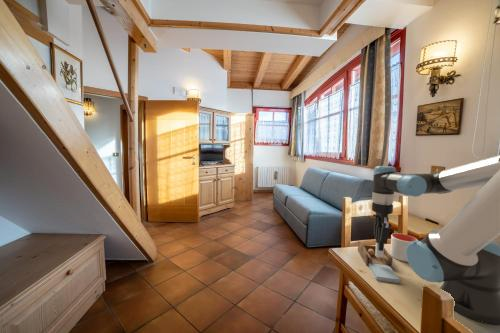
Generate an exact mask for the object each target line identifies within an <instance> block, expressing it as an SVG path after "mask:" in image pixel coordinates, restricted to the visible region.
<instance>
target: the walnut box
mask: <svg viewBox="0 0 500 333" xmlns="http://www.w3.org/2000/svg"><path fill="white" fill-rule="evenodd" d="M375 248H376V245H369V244H362V243H361V241H358V242H357V252H358V254H359V256H360V257H361V258H362V261H363V263H364V265H366V266H368V267H369V263H371V264H380V265H388V266H390V267H391V269H393V258H394V257H393V256H392V255H391V253H389V252H388V251H387V249H386V248H385V247H384V255H383V258H382V257H376V256H375V254H374V255H369V253H368V250H369V249H373V250H374V251H375Z"/></svg>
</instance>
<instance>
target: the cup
mask: <svg viewBox="0 0 500 333" xmlns="http://www.w3.org/2000/svg"><path fill="white" fill-rule="evenodd" d="M413 241H419V240H418V239H417V238H416V237H414V236H412V235H409V234H406V233H405V234H404V233H400V232H398V233H397V232H396V233H392V234H391V235H390V249H389V250H390V251H389V252H390V253H389V254H390V255H391V257H392V258H394V259H395V260H398V261H401V262H405V263H409V262H408V260H407V256H406V247H407V245H408V244H409V243H410V242H413Z"/></svg>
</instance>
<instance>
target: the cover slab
mask: <svg viewBox="0 0 500 333" xmlns="http://www.w3.org/2000/svg"><path fill="white" fill-rule="evenodd" d="M368 268H369V269H370V271H371V273H372V274H373V276H374V277H375V278H374V279H375V280H376V281H380V282H388V283H389V282H390V283H395V284H400V283H401V282H400V281H401V279H400V278H399V277H398V274H396V272H395V271H394V270H393V268H391V267H390V266H388V265H380V264H371V263H369V266H368Z"/></svg>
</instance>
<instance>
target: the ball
mask: <svg viewBox="0 0 500 333" xmlns="http://www.w3.org/2000/svg"><path fill="white" fill-rule="evenodd" d="M368 253H369V255H374V254H375V251H374V250H373V249H369V250H368Z"/></svg>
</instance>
